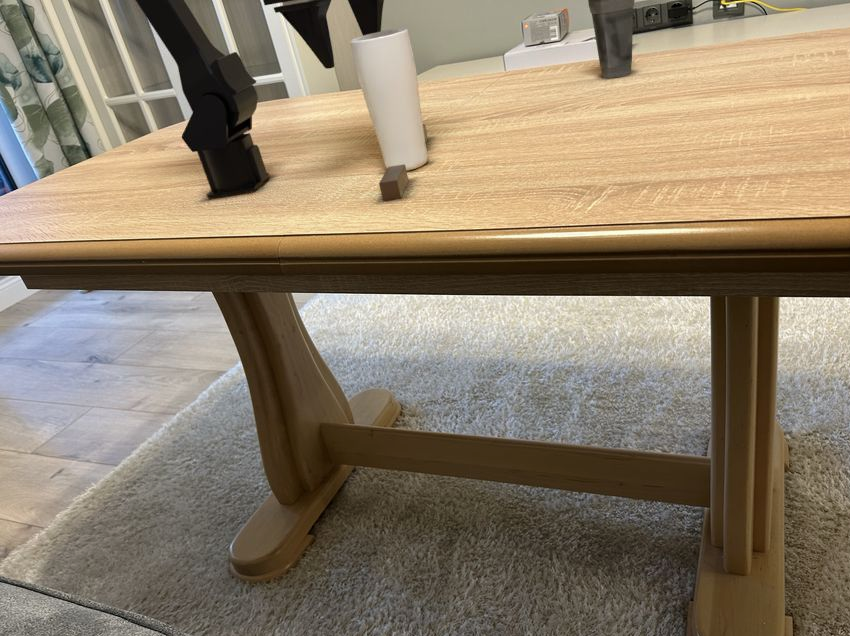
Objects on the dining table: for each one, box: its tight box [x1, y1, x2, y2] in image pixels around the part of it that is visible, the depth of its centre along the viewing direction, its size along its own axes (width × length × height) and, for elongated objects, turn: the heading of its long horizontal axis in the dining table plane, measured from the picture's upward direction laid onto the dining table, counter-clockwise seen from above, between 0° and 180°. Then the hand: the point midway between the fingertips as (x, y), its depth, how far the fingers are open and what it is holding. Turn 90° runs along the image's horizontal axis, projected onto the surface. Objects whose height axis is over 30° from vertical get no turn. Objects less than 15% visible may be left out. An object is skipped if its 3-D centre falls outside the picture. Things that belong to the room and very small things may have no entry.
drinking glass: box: [349, 27, 429, 172], centre depth 83 cm, size 7×7×15 cm
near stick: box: [378, 164, 410, 201], centre depth 78 cm, size 6×2×2 cm, turn 176°
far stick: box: [423, 123, 429, 145], centre depth 94 cm, size 6×2×2 cm, turn 176°
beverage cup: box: [587, 0, 635, 79], centre depth 107 cm, size 7×7×20 cm
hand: (353, 59), depth 82 cm, fingers open, 9 cm apart
